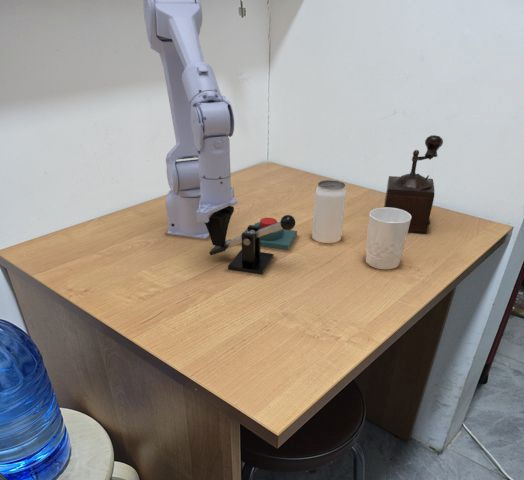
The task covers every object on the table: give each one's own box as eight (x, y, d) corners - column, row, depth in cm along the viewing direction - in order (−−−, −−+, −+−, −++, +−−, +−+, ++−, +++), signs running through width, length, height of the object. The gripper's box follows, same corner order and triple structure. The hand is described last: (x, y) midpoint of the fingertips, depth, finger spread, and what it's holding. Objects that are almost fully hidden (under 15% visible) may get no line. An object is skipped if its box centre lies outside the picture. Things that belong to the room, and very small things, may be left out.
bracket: (228, 270, 95) (226, 236, 91) (241, 253, 101) (240, 220, 97) (262, 275, 94) (262, 240, 89) (273, 258, 100) (274, 224, 95)
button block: (238, 244, 105) (238, 230, 103) (249, 230, 111) (249, 217, 109) (287, 251, 102) (288, 237, 100) (296, 236, 108) (297, 222, 107)
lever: (213, 260, 97) (206, 247, 96) (220, 252, 100) (213, 239, 99) (295, 231, 88) (288, 217, 87) (300, 223, 92) (294, 209, 90)
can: (339, 246, 105) (346, 190, 98) (310, 243, 106) (314, 188, 99) (342, 234, 110) (348, 180, 103) (313, 231, 111) (317, 178, 104)
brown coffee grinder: (430, 234, 110) (449, 151, 99) (380, 229, 112) (393, 147, 101) (427, 210, 122) (444, 133, 112) (382, 206, 124) (395, 130, 113)
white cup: (404, 257, 101) (413, 210, 95) (399, 274, 95) (409, 225, 89) (365, 251, 103) (372, 205, 97) (359, 267, 97) (366, 219, 91)
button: (257, 230, 104) (258, 222, 103) (262, 224, 107) (262, 216, 106) (274, 232, 103) (274, 224, 102) (278, 226, 106) (278, 218, 105)
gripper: (221, 189, 82) (224, 262, 90) (248, 166, 93) (249, 233, 101) (183, 185, 84) (189, 257, 92) (213, 162, 95) (217, 229, 103)
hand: (218, 244), depth 97 cm, fingers closed, pressing on lever
